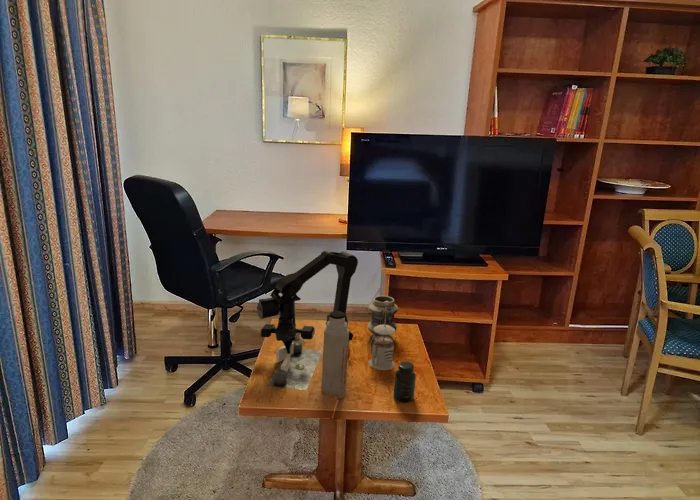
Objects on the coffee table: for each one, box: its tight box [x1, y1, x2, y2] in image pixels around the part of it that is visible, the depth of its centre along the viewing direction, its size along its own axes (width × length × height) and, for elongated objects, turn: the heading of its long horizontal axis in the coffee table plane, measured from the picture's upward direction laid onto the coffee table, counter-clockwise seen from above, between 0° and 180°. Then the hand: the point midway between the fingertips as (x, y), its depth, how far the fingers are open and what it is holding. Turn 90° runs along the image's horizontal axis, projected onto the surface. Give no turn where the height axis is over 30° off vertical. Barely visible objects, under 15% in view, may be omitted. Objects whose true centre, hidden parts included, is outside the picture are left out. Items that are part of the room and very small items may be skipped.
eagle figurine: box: [293, 335, 306, 346], centre depth 190 cm, size 8×7×9 cm
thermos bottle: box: [321, 310, 350, 400], centre depth 156 cm, size 8×8×28 cm
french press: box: [368, 301, 396, 371], centre depth 177 cm, size 10×12×25 cm
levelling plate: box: [267, 348, 323, 391], centre depth 171 cm, size 13×29×2 cm, turn 173°
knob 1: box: [275, 341, 303, 363], centre depth 178 cm, size 13×4×4 cm, turn 148°
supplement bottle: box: [392, 360, 417, 404], centre depth 157 cm, size 7×7×12 cm
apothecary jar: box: [367, 295, 399, 343], centre depth 199 cm, size 12×12×18 cm
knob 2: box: [273, 354, 290, 385], centre depth 164 cm, size 13×4×4 cm, turn 173°
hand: (288, 353), depth 175 cm, fingers closed
